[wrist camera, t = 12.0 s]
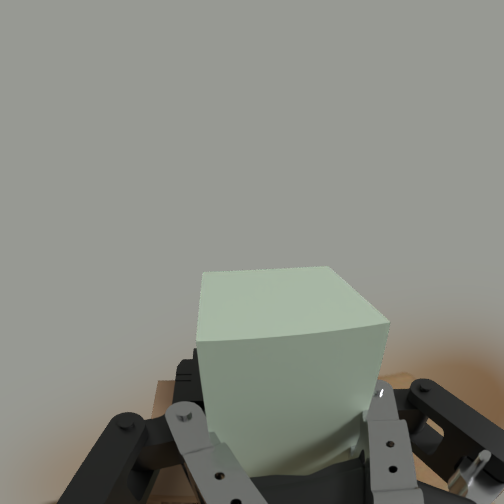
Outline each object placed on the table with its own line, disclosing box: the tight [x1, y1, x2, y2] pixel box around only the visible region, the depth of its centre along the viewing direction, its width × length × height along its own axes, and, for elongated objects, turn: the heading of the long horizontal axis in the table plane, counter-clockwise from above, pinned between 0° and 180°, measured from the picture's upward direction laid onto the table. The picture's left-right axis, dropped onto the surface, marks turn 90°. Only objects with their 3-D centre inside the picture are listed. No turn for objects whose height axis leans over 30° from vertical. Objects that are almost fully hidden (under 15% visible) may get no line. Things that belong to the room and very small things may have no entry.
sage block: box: [196, 266, 390, 478], centre depth 11 cm, size 5×5×11 cm
